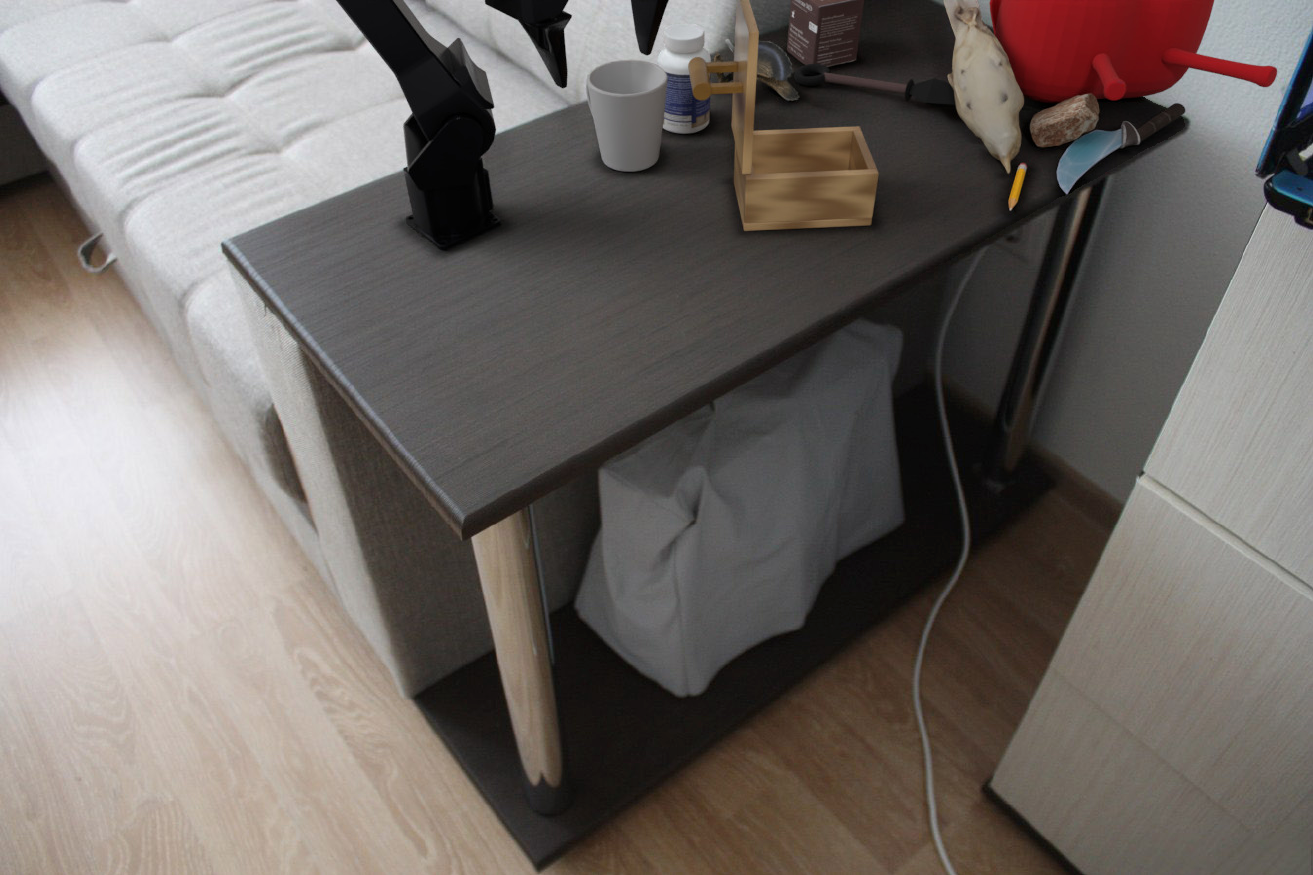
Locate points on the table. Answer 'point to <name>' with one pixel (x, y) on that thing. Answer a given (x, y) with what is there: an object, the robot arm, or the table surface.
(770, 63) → the eagle figurine
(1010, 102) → the sculpture
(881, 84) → the kunai knife
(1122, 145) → the knife
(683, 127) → the pill bottle
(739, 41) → the lid
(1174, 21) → the novelty television
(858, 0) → the box
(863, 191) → the box
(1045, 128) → the stone
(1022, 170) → the pencil
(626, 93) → the cup
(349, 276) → the table surface
